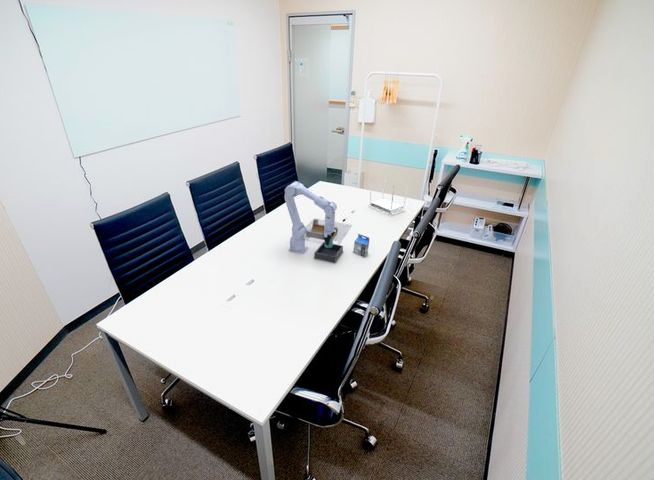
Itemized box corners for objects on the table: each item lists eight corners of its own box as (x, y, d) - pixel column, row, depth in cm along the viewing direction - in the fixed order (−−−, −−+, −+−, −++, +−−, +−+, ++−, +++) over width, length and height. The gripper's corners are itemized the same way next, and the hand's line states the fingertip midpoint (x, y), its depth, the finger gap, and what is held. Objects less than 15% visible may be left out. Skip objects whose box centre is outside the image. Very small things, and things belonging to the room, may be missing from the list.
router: (382, 201, 291) (386, 174, 278) (405, 210, 274) (410, 182, 261) (367, 206, 281) (370, 178, 268) (389, 216, 264) (394, 186, 251)
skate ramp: (296, 238, 232) (296, 228, 228) (314, 218, 259) (314, 209, 255) (337, 245, 222) (337, 235, 218) (350, 225, 250) (351, 216, 246)
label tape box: (352, 252, 215) (354, 235, 209) (356, 250, 218) (358, 233, 211) (364, 257, 210) (366, 239, 204) (367, 254, 213) (370, 237, 206)
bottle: (323, 247, 206) (323, 234, 201) (326, 243, 210) (326, 231, 205) (331, 248, 204) (331, 236, 200) (333, 245, 208) (334, 232, 203)
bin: (314, 258, 208) (314, 252, 206) (323, 247, 220) (323, 241, 218) (335, 263, 204) (335, 257, 201) (342, 251, 216) (343, 245, 214)
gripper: (332, 228, 191) (330, 249, 199) (339, 219, 203) (338, 239, 210) (320, 226, 194) (319, 247, 201) (328, 217, 205) (327, 236, 212)
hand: (328, 242), depth 206 cm, fingers closed on bottle, 5 cm apart
